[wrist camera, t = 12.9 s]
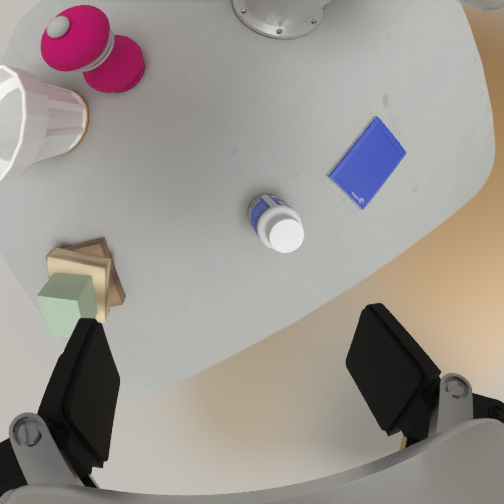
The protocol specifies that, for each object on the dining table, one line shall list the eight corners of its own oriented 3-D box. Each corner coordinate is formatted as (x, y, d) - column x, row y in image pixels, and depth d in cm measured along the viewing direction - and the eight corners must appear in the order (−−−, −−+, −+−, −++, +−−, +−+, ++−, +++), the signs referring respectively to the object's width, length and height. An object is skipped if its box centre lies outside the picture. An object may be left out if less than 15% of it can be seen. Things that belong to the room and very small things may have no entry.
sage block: (54, 272, 32) (36, 295, 27) (92, 275, 33) (77, 300, 28) (62, 308, 34) (48, 333, 29) (97, 312, 36) (86, 339, 30)
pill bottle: (253, 235, 41) (268, 266, 32) (243, 199, 38) (256, 221, 30) (289, 224, 41) (313, 251, 32) (281, 188, 39) (305, 207, 30)
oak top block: (56, 247, 33) (47, 256, 31) (110, 258, 36) (105, 268, 33) (59, 299, 37) (52, 310, 34) (109, 311, 39) (105, 322, 36)
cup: (30, 165, 30) (-48, 195, 14) (33, 90, 26) (-46, 83, 10) (95, 159, 32) (26, 186, 17) (100, 78, 28) (34, 50, 12)
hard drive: (363, 211, 41) (407, 153, 38) (329, 176, 38) (377, 116, 35) (358, 208, 42) (401, 152, 40) (324, 175, 39) (372, 116, 37)
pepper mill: (151, 88, 30) (101, 46, 12) (99, 102, 29) (13, 87, 11) (146, 40, 27) (101, -32, 9) (95, 55, 26) (16, 9, 8)
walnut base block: (53, 248, 36) (45, 257, 34) (106, 235, 37) (100, 243, 35) (75, 302, 41) (70, 312, 38) (126, 293, 42) (122, 304, 39)
